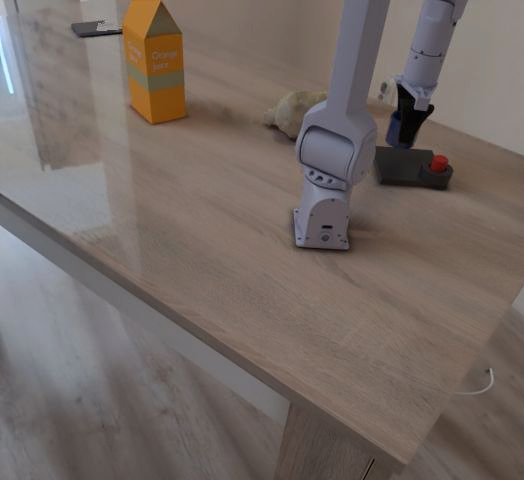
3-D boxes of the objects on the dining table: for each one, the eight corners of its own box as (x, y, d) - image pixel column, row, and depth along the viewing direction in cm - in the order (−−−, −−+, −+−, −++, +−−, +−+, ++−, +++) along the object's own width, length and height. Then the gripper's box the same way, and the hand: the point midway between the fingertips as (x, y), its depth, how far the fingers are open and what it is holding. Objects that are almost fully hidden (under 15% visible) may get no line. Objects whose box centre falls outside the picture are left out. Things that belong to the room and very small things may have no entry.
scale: (450, 192, 85) (456, 176, 83) (380, 187, 84) (385, 171, 82) (433, 156, 93) (439, 141, 91) (369, 151, 93) (373, 136, 90)
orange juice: (151, 124, 93) (139, 1, 77) (131, 106, 97) (115, -15, 82) (186, 116, 96) (181, -4, 81) (165, 99, 100) (156, -18, 85)
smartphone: (69, 23, 122) (126, 17, 127) (70, 27, 123) (127, 22, 128) (78, 33, 118) (136, 27, 123) (79, 37, 119) (137, 31, 124)
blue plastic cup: (415, 150, 85) (424, 125, 82) (385, 147, 85) (392, 121, 82) (412, 136, 89) (420, 112, 85) (383, 133, 89) (390, 108, 85)
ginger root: (257, 151, 93) (319, 119, 83) (248, 112, 92) (309, 75, 82) (303, 151, 104) (362, 123, 94) (294, 116, 103) (354, 85, 93)
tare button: (445, 173, 84) (450, 162, 82) (431, 172, 84) (435, 161, 82) (442, 166, 86) (446, 155, 84) (428, 164, 86) (432, 154, 84)
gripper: (399, 32, 80) (378, 114, 91) (407, 63, 71) (383, 151, 81) (441, 37, 80) (415, 118, 91) (454, 69, 71) (424, 156, 81)
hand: (402, 134), depth 86 cm, fingers closed on blue plastic cup, 5 cm apart
